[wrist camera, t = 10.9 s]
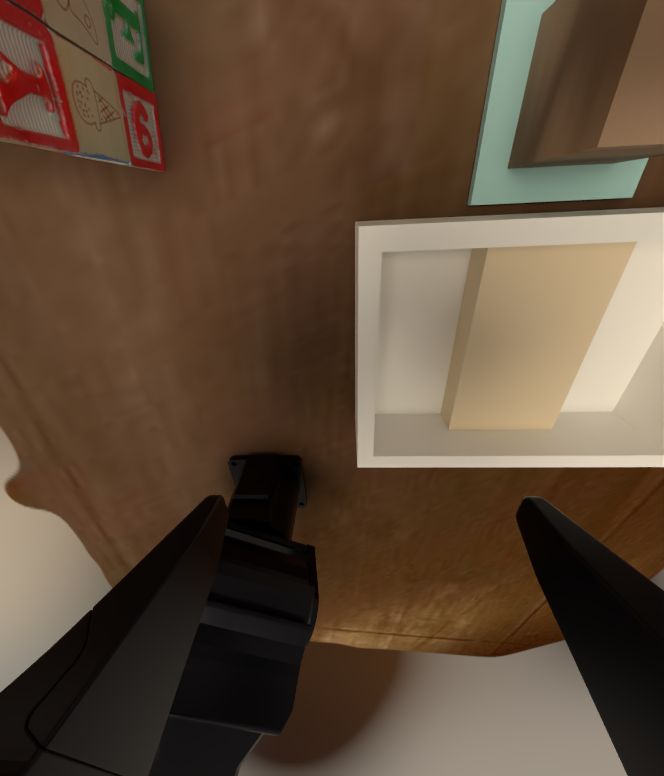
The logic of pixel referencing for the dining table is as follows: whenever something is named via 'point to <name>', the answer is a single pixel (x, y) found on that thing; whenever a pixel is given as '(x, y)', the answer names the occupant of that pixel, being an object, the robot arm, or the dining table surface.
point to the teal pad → (500, 123)
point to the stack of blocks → (79, 80)
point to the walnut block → (594, 85)
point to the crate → (511, 340)
